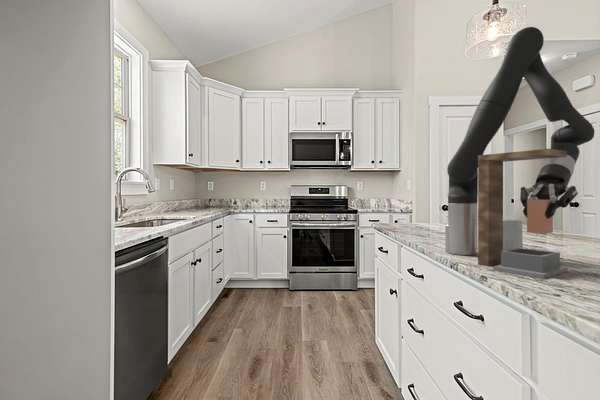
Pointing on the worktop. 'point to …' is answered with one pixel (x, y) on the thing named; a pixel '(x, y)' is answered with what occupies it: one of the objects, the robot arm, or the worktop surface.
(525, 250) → the socket
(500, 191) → the wooden l-shaped bracket
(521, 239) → the skincare box
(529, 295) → the worktop surface
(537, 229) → the peg
